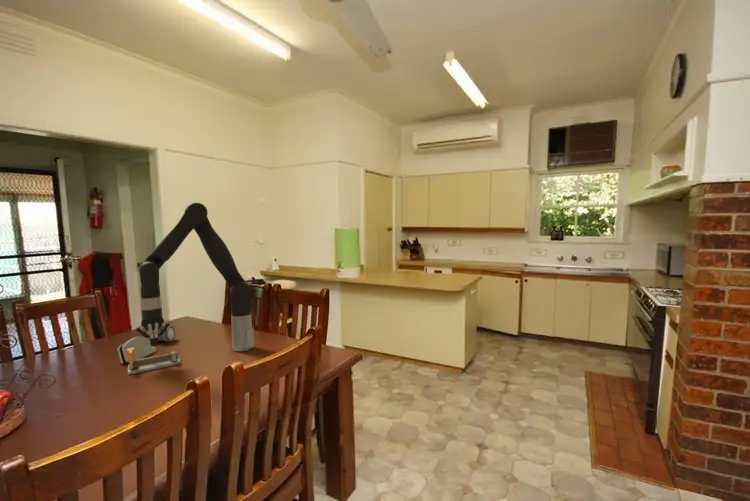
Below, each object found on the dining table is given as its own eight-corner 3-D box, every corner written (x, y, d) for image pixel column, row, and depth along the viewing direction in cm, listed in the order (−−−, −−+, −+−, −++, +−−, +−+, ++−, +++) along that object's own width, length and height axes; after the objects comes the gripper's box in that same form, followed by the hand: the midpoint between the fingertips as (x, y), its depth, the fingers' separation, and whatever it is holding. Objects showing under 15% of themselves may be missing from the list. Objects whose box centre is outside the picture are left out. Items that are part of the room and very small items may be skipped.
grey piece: (178, 357, 159) (178, 346, 159) (181, 364, 152) (180, 352, 152) (128, 367, 149) (127, 355, 148) (128, 374, 141) (127, 362, 141)
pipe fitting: (177, 337, 188) (173, 319, 186) (169, 343, 180) (165, 325, 178) (154, 340, 187) (150, 322, 185) (146, 347, 179) (141, 328, 177)
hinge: (131, 363, 153) (122, 342, 152) (122, 367, 153) (113, 346, 153) (157, 350, 170) (149, 331, 169) (148, 353, 170) (141, 334, 169)
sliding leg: (134, 362, 149) (134, 347, 149) (134, 368, 144) (134, 352, 143) (128, 364, 148) (127, 348, 148) (127, 369, 143) (127, 353, 142)
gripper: (133, 311, 144) (136, 351, 145) (169, 306, 151) (172, 344, 153) (133, 308, 150) (136, 347, 151) (168, 303, 157) (171, 340, 159)
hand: (154, 345), depth 152 cm, fingers closed
